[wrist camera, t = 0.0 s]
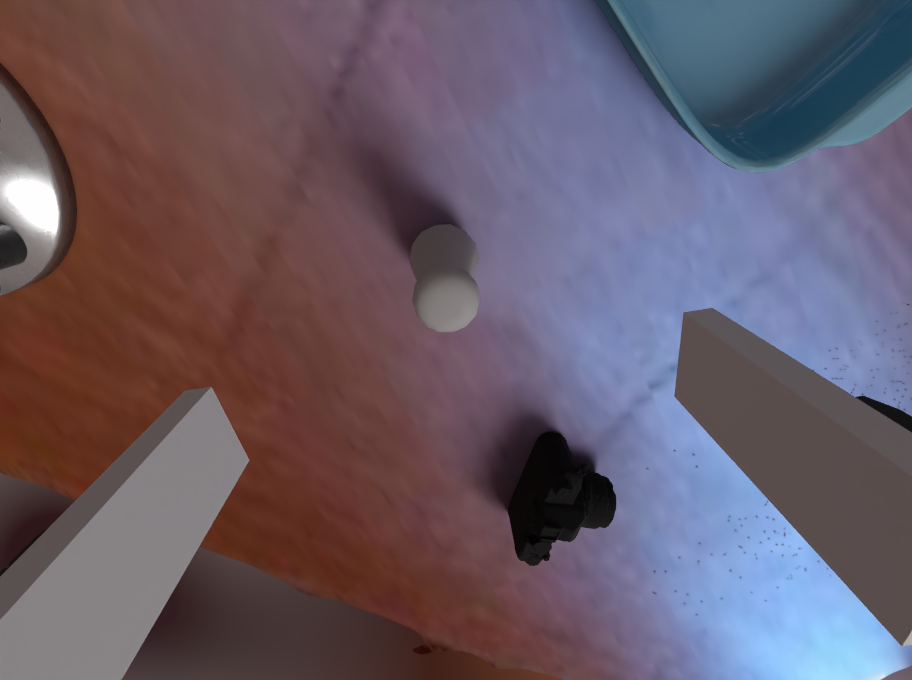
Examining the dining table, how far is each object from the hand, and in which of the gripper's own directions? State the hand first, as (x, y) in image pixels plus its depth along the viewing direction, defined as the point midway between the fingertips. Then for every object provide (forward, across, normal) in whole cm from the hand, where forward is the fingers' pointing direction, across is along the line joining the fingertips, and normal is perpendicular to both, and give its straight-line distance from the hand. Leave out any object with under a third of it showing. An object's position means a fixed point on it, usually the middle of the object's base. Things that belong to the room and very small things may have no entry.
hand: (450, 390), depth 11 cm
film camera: (+27, +8, -33) cm, 43 cm away
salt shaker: (+27, 0, -3) cm, 27 cm away
